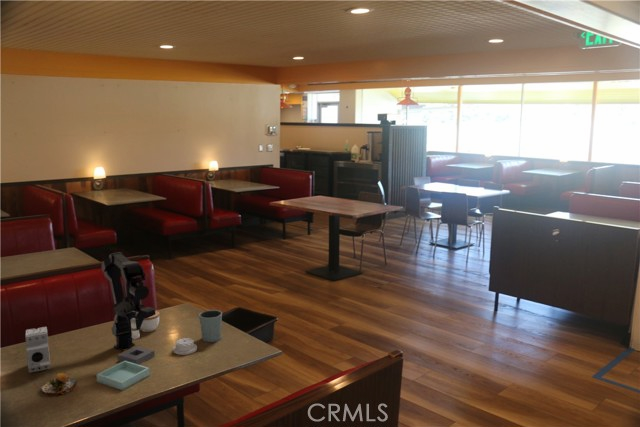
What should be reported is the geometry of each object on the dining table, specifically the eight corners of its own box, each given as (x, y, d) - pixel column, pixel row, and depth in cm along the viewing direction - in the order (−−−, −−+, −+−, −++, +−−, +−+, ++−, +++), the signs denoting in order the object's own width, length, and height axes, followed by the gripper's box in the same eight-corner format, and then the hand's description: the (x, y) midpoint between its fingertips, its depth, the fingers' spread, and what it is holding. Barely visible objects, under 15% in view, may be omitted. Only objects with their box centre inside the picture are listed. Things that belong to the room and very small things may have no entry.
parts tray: (97, 381, 204) (96, 374, 204) (125, 367, 216) (124, 360, 216) (122, 390, 198) (121, 382, 197) (150, 375, 210) (149, 368, 209)
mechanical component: (169, 354, 229) (191, 356, 227) (168, 344, 228) (190, 346, 226) (179, 344, 238) (200, 346, 236) (179, 335, 238) (200, 337, 236)
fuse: (130, 338, 222) (128, 319, 220) (135, 335, 225) (134, 317, 223) (135, 339, 220) (134, 321, 219) (141, 336, 223) (140, 318, 222)
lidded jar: (139, 325, 259) (138, 307, 258) (162, 324, 261) (161, 306, 259) (134, 334, 249) (133, 315, 247) (158, 333, 250) (157, 314, 248)
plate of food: (52, 381, 205) (50, 362, 204) (82, 381, 205) (80, 363, 204) (34, 397, 194) (32, 377, 192) (66, 397, 193) (65, 378, 192)
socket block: (118, 360, 222) (118, 354, 222) (137, 351, 231) (137, 345, 230) (136, 365, 218) (136, 360, 217) (154, 356, 226) (154, 350, 226)
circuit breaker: (28, 379, 206) (25, 342, 203) (29, 364, 218) (25, 329, 216) (50, 375, 209) (47, 339, 207) (49, 360, 222) (46, 326, 219)
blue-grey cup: (227, 337, 246) (226, 312, 244) (211, 345, 238) (210, 319, 236) (210, 332, 251) (210, 308, 249) (195, 339, 243) (194, 314, 241)
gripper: (101, 295, 217) (103, 331, 219) (134, 302, 208) (136, 340, 211) (122, 287, 226) (125, 322, 229) (155, 294, 218) (157, 331, 220)
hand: (135, 329), depth 222 cm, fingers closed on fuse, 3 cm apart
